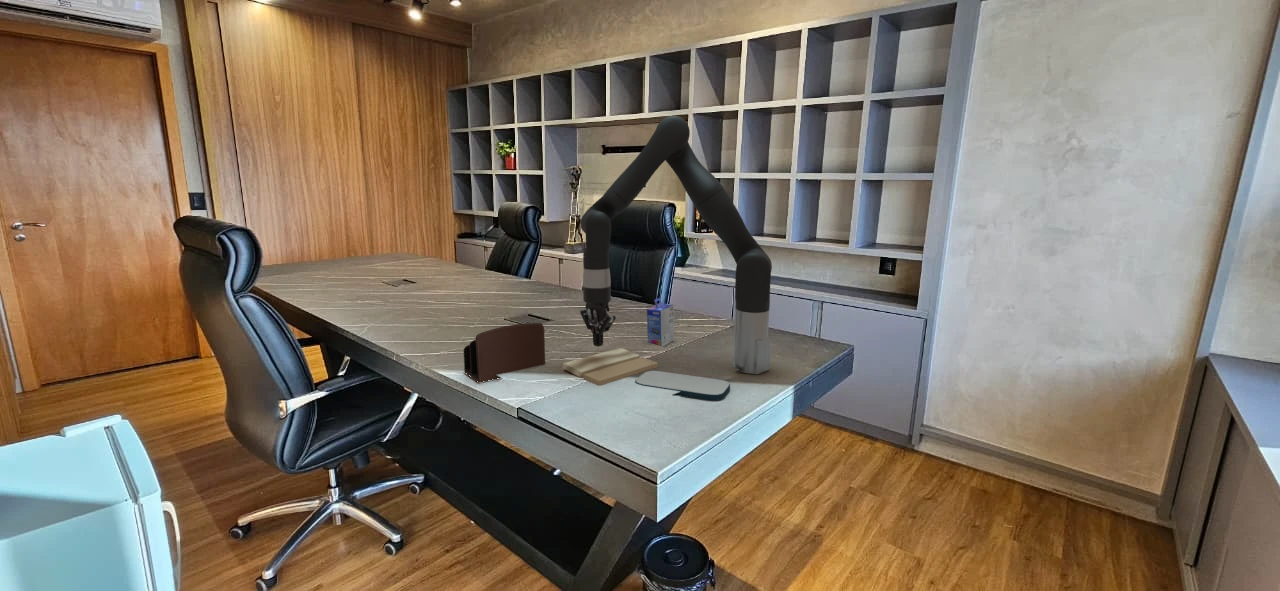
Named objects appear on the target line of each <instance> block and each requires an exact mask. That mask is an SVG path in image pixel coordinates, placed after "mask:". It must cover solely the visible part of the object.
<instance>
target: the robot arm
mask: <svg viewBox="0 0 1280 591" xmlns="http://www.w3.org/2000/svg"><path fill="white" fill-rule="evenodd" d="M690 132H691V131H690V126H689V124H688V122H687V121H686V120H685V119H684V118H682V117H681V116H677V115H669V116H667V117H665V118H663V119H662V120H660V122H659V123H658V124H657V125H656V128H655V130H654V132H653V134H652V135H651V137H650V138H649V140H648V142H647V143H646V144H645V146H644V147H643V148H642V150H641V151H640V152H639V153H638V155H637V156H636V157H635V158H634V160H632V162H631V163H630V164H629V165H628V166H627V167H626V169H624V170H623V172H622V173H621V174H620V175H619V176H618V177H617V178H616V179H615V180H614V181H613V183H612V184H611V185H610V187H608V189H607V190H606V192H604V194H603V195H601V197H600V198H599V199H597V200H596V201H595V202H594V203H593V204H592V205H591V206H589V208H588V209H587V210H586V211H585V212H584V213H583V215H582V217H581V218H580V228H581V230H582V231H583V233H584V234H585V248H584V249H583V253H582V256H583V257H582V259H583V260H582V261H583V264H582V265H583V267H582V268H583V270H582V271H583V272H582V273H583V274H582V297H583V299H582V300H583V302H584V303H585V308H583V309H581V310H580V312H579V313H580V316H581V317H582V320H583V323H584V324H585V326H586V329H587V330H590V331H591V333H592V343H593V346H595V347H597V348H599V347H602V346H603V344H604V333H606V332H608V331H610V328H612V326H613V324H614V322H615V320H616V319H617V318H616V315H612V313H610V306H609V303H610V302H611V300H612V297H611V296H612V295H611V294H612V293H611V290H612V289H611V287H612V285H611V283H612V281H611V271H610V247H611V246H610V245H611V238H612V222H611V221H613V219H614V218H615V217H616V216H617V215H619V214H621V213H623V212H625V211H626V210H627V208H628V207H629V206H631V203H632V202H634V200H635V199H636V198H637V197H638V196H639V194H640V193H641V192H642V190H643V188H645V186H646V185H647V184H648V182H649V180H651V178H652V176H654V174H655V173H656V172H657V170H658V169H659V168H660V166H661V165H662V164H663V163H665V162H666V163H667V164H668V166H669V167H670V168H671V169H672V170H673V172H674V173H675V174H676V176H677V178H678V179H679V181H680V183H681V185H682V187H683V188H684V190H685V193H687V195H688V197H689V199H690V201H691V203H692V205H694V207H695V209H696V211H697V212H698V213H699V215H700V217H701V218H702V220H703V221H704V222H705V224H706V225H707V226H708V227H709V228H710V230H712V231H713V233H715V235H717V237H718V238H720V240H721V241H722V242H723V243H724V244H725V246H726V247H727V249H728V250H729V253H730V254H731V256H732V258H733V260H734V261H735V264H736V268H735V278H734V279H735V285H734V289H735V290H734V301H735V305H734V306H735V307H734V308H735V309H734V312H735V314H734V331H733V332H734V337H733V356H732V357H733V359H732V360H733V363H732V368H734V369H737V372H740V373H744V374H753V375H759V374H762V373H765V372H767V371H770V366H771V364H770V363H771V347H772V346H771V342H772V337H770V336H769V321H770V308H771V307H770V303H771V282H772V281H771V278H772V274H771V273H772V269H773V265H772V261H771V258H770V257H769V255H768V254H767V253H766V251H764V249H763V248H762V247H761V245H759V243H758V242H757V241H756V238H754V237H753V235H752V234H751V233H750V231H749V229H748V227H747V226H746V223H745V222H744V220H743V218H742V216H741V214H740V212H739V211H738V209H737V207H736V205H735V204H734V202H733V200H732V198H731V197H730V196H729V194H728V192H727V190H726V189H725V188H724V186H723V185H722V183H721V181H719V180H718V179H717V177H715V176H714V175H713V174H712V173H711V172H710V171H709V170H708V169H707V168H706V167H705V166H704V165H703V164H702V163H701V162H700V161H699V159H698V158H697V156H696V154H695V152H694V151H693V149H692V147H691V145H690V143H689V140H690V136H691V135H690Z"/></svg>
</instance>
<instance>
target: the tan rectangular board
mask: <svg viewBox="0 0 1280 591" xmlns="http://www.w3.org/2000/svg"><path fill="white" fill-rule="evenodd" d="M656 368H659V362H657V361H654V360H651V359H648V358H644V357H640V358H638V359H635V360H631V361H628V362H624V363H621V364H617V365H614V366H611V367H607V368H604V369H600V370H597V371H594V372H590V373H587V374H583V377H582V378H583V380H586V381H588V382H589V383H592V384H595V385H597V386H604V385H607V384H609V383H612V382H613V383H614V382H615V381H616V382H617V381H618V380H621V379H625V378H628V377H632V376H635V375H637V374H641V373H645V372H647V371H652V370H653V369H656Z"/></svg>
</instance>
